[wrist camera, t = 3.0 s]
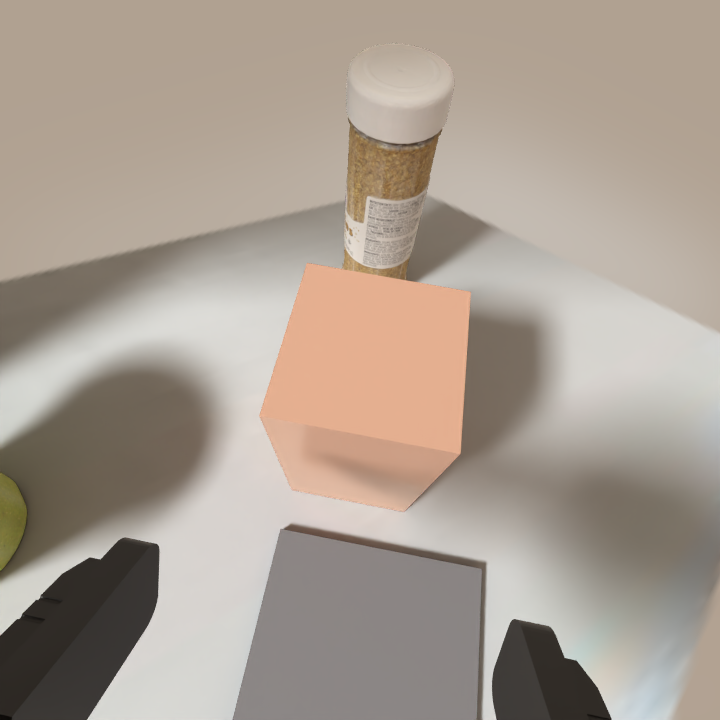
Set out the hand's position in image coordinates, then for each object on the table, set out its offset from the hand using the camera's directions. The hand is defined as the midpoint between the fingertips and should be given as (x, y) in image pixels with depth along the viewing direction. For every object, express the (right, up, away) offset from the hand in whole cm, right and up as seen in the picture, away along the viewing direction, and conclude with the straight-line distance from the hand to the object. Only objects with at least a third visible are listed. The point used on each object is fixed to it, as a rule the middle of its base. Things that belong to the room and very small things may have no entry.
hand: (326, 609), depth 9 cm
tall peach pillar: (+1, +1, +14) cm, 14 cm away
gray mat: (+1, -8, +9) cm, 12 cm away
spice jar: (+2, +11, +20) cm, 23 cm away
